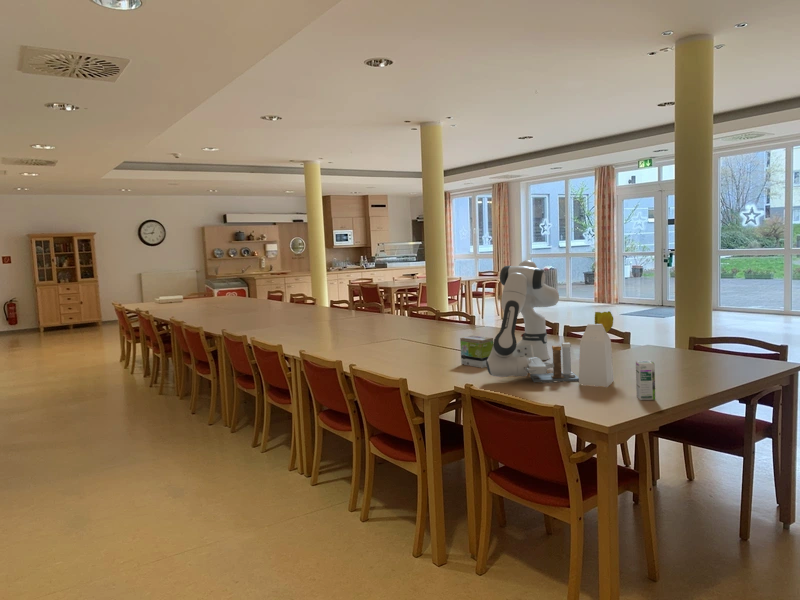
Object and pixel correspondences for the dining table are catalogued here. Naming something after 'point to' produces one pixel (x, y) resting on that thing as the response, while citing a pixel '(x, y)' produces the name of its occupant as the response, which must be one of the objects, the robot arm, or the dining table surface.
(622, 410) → the dining table surface
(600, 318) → the flower
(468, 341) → the tea box
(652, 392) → the syrup box
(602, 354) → the milk
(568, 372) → the grey lever
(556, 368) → the walnut lever
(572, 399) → the dining table surface
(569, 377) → the control board
